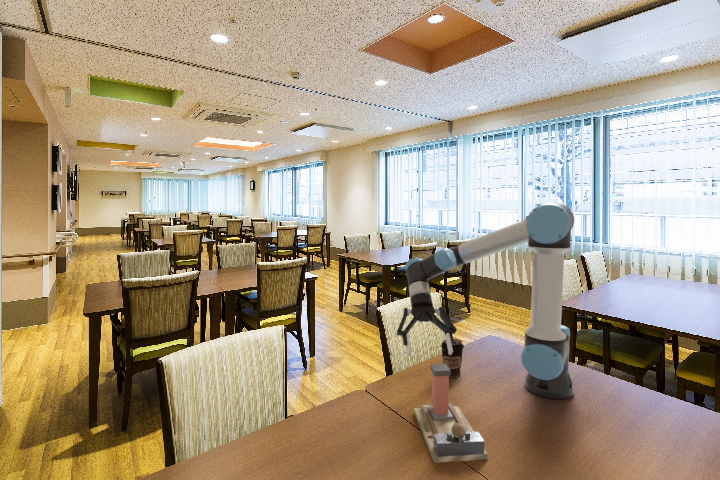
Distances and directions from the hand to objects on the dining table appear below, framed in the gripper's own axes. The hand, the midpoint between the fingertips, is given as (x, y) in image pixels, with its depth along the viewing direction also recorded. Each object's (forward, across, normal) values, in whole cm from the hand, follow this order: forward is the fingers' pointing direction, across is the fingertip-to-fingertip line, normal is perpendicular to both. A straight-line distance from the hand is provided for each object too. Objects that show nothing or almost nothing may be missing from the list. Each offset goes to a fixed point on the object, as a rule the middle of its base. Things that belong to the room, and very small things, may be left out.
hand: (430, 354), depth 123 cm
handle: (+17, 0, -3) cm, 18 cm away
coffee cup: (-2, -13, -25) cm, 29 cm away
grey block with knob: (+29, -1, +9) cm, 31 cm away
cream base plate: (+24, -1, +1) cm, 24 cm away
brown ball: (+27, -1, +11) cm, 29 cm away
